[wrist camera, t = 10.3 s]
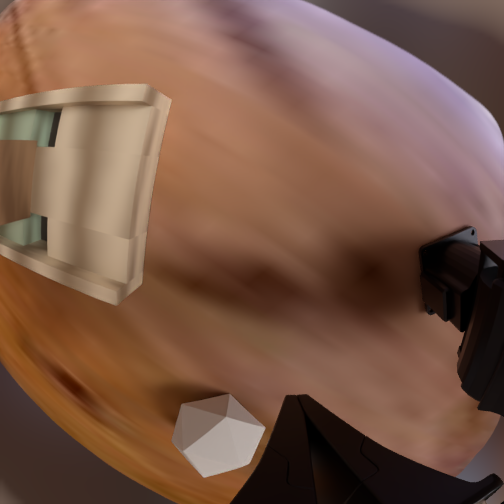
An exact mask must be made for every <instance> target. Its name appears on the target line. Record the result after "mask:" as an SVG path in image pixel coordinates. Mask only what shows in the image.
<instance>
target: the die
mask: <svg viewBox="0 0 504 504" xmlns="http://www.w3.org/2000/svg"><path fill="white" fill-rule="evenodd" d="M264 430H265V427H264V426H263V425H262V424H261V423H260V422H259V421H258V420H257V419H255V418H254V417H253V416H252V415H251V414H250V413H249V412H248V411H247V410H246V409H245V408H244V407H243V406H242V405H241V404H240V403H239V402H238V401H237V400H236V399H235V398H234V397H233V396H232V395H231V394H226V395H222V396H217V397H213V398H208V399H204V400H199V401H194V402H189V403H183V404H181V408H180V411H179V415H178V419H177V422H176V426H175V429H174V433H173V437H172V443H173V444H174V445H175V446H176V447H177V449H178V450H179V451H180V452H181V453H182V454H183V456H184V457H185V458H186V459H187V460H188V461H189V462H190V463H191V465H192V466H193V467H194V468H195V469H196V470H197V471H198V472H199V473H200V474H201V475H202V476H203V477H208V476H212V475H216V474H219V473H223V472H227V471H230V470H233V469H237V468H240V467H242V466H245V465H247V464H249V463H250V461H251V459H252V457H253V455H254V453H255V450H256V448H257V446H258V444H259V441H260V439H261V437H262V435H263V432H264Z"/></svg>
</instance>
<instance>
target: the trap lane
mask: <svg viewBox="0 0 504 504" xmlns="http://www.w3.org/2000/svg"><path fill="white" fill-rule="evenodd" d="M171 102H172V100H171V99H170V98H168V97H167V96H165V95H164V94H162V93H160V92H159V91H157V90H156V89H154V88H153V87H151V86H149V85H148V84H114V85H97V86H85V87H75V88H67V89H60V90H53V91H47V92H41V93H35V94H30V95H25V96H21V97H16V98H12V99H8V100H4V101H0V140H35V141H38V142H37V148H36V155H35V162H34V170H33V180H32V192H31V213H30V218H26V219H22V220H19V221H15V222H11V223H8V224H4V225H1V226H0V254H1V255H3V256H4V257H6V258H8V259H10V260H12V261H14V262H16V263H18V264H20V265H22V266H24V267H26V268H28V269H30V270H32V271H34V272H36V273H39V274H41V275H43V276H45V277H47V278H49V279H52V280H54V281H56V282H58V283H61V284H63V285H65V286H68V287H70V288H72V289H75V290H77V291H80V292H82V293H84V294H87V295H89V296H92V297H94V298H97V299H100V300H102V301H105V302H107V303H110V304H113V305H116V306H117V305H118V304H119V303H120V302H121V301H123V300H124V299H125V298H126V297H127V296H128V295H130V294H131V293H132V292H133V291H134V290H136V289H137V288H138V287H139V286H140V285H142V280H143V267H144V256H145V246H146V237H147V228H148V220H149V213H150V206H151V199H152V193H153V186H154V180H155V175H156V169H157V164H158V159H159V154H160V149H161V144H162V139H163V135H164V130H165V126H166V122H167V118H168V114H169V110H170V106H171Z"/></svg>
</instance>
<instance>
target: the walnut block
mask: <svg viewBox="0 0 504 504" xmlns="http://www.w3.org/2000/svg"><path fill="white" fill-rule="evenodd" d="M37 142H38V141H35V140H0V226H1V225H4V224H8V223H11V222H15V221H19V220H22V219H26V218H30V213H31V192H32V180H33V170H34V162H35V155H36V148H37Z"/></svg>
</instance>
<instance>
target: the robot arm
mask: <svg viewBox="0 0 504 504" xmlns="http://www.w3.org/2000/svg"><path fill="white" fill-rule="evenodd" d="M471 231H472V234H471ZM425 250H426V253H425V254H423V252H424V251H425ZM419 258H420V264H421V271H422V272H421V274H420V279H421V288H422V297H423V301H424V302H425V309H426V312H427V313H428V314H429V315H433V314H435V313H436V314H437V315H438V316H439V317H440V318H441V319H442V320H443V321H445V322H447V321H450V322H451V323H452V324H453V325H454V326H455V327H456V328H457V329H458V330H459V331H460V332H464V331H465V333H464V336H463V340H462V343H461V346H459V349H458V352H457V354H458V357H459V360H458V362H457V373H458V375H459V377H460V380H461V382H462V384H461V388H462V389H463V390H464V391H465V392H466V393H467V394H468V395H469V396H470V397H472V398H473V399H475V400H477V401H479V402H480V403H479V405H478V407H477V409H478V410H482V411H491V412H494V413H497V414H500V415H502V416H503V417H504V240H492V241H480V245H478V241H477V232H476V229H475V228H474V227H472V226H469V227H467V228H465V229H463V230H460V231H458V232H456V233H453V234H451V235H449V236H446V237H444V238H441V239H439V240H436V241H434V242H432V243H429V244H427V245H424V246H422V247H421V248H420V249H419ZM430 309H431V310H430ZM503 484H504V483H503V481H502V480H501V478H500V477H498V476H497V475H496V474H494V473H493V474H490V475H489V476H487V477H486V478H484V479H483V480H481V481H479V482H468V481H464V480H462V479H458V478H456V477H453V476H450V475H447V474H445V473H442V472H439V471H437V470H434V469H432V468H429V467H427V466H425V465H422V464H420V463H417V462H415V461H413V460H411V459H408V458H406V457H404V456H402V455H399V454H397V453H395V452H393V451H391V450H389V449H387V448H385V447H383V446H382V445H380V444H378V443H377V442H375V441H373V440H372V439H370V438H369V437H367V436H365V435H364V434H362V433H361V432H359V431H358V430H356V429H355V428H353V427H352V426H350V425H349V424H347V423H346V422H345V421H343V420H342V419H340V418H339V417H337V416H336V415H335V414H333V413H332V412H330V411H329V410H328V409H326V408H325V407H324V406H322V405H321V404H319V403H318V402H317V401H315V400H314V399H313V398H311V397H310V396H309V395H307V394H302V395H297V396H296V395H286V396H285V398H284V401H283V404H282V407H281V410H280V412H279V415H278V418H277V420H276V423H275V426H274V428H273V431H272V434H271V436H270V439H269V441H268V444H267V446H266V448H265V451H264V453H263V455H262V457H261V459H260V461H259V463H258V465H257V467H256V468H255V470H254V471H253V473H252V474H251V476H250V477H249V479H248V480H247V481H246V483H245V484H244V485H243V487H242V488H241V489H240V491H239V492H238V493H237V495H236V496H235V497H234V499H233V500H232V501H231V503H230V504H487V503H486V500H487V499H488V498H489V497H490V496H492V495H493V494H494V493H495V492H496V491H497V490H498V489H499V488H500V487H501V486H502V485H503ZM501 504H504V501H503V502H502V503H501Z"/></svg>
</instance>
